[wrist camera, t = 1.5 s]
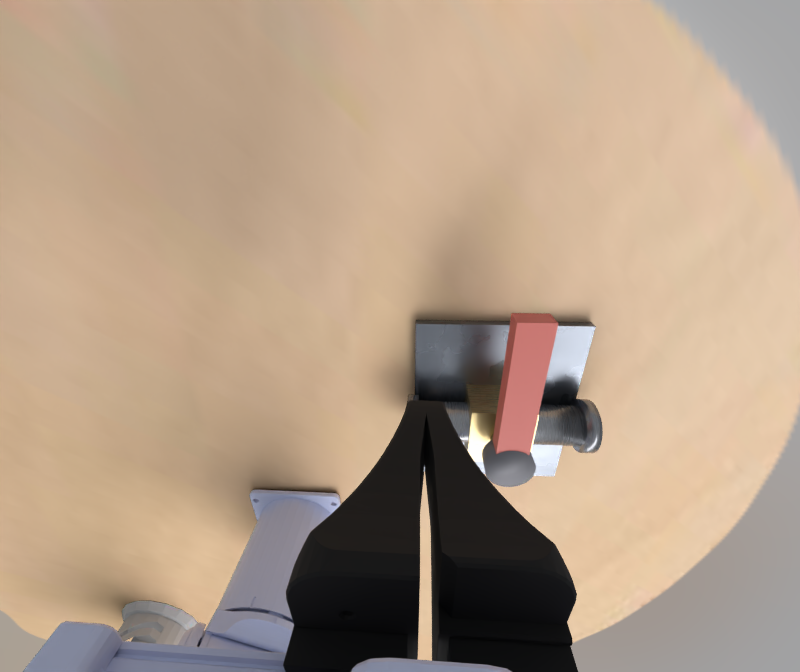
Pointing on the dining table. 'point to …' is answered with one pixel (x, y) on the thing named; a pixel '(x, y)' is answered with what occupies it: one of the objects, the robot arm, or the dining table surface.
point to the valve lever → (520, 399)
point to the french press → (154, 623)
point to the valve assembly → (481, 380)
